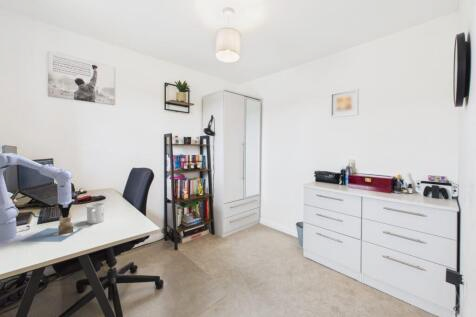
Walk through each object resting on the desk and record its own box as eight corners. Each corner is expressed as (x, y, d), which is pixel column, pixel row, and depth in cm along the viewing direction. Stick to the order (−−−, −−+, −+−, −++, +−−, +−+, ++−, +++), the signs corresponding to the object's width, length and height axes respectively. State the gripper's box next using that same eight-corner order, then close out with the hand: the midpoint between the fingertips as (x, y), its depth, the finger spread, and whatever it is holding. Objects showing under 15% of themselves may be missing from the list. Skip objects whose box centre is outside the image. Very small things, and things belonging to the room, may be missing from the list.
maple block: (59, 228, 109) (59, 219, 109) (59, 225, 113) (59, 216, 112) (70, 226, 112) (70, 217, 112) (70, 223, 116) (70, 215, 115)
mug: (89, 220, 131) (88, 203, 130) (105, 218, 135) (105, 202, 134) (84, 227, 120) (83, 209, 119) (102, 225, 124) (101, 207, 123)
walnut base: (58, 235, 109) (58, 229, 108) (58, 231, 113) (58, 225, 113) (73, 232, 113) (73, 226, 112) (72, 228, 117) (72, 222, 117)
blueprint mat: (19, 242, 101) (19, 241, 101) (47, 228, 117) (47, 228, 117) (61, 242, 102) (61, 241, 102) (83, 229, 118) (83, 228, 118)
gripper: (74, 194, 109) (75, 219, 110) (73, 189, 119) (73, 212, 120) (57, 196, 104) (58, 222, 105) (57, 191, 115) (57, 214, 116)
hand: (65, 217), depth 112 cm, fingers closed, pressing on maple block
